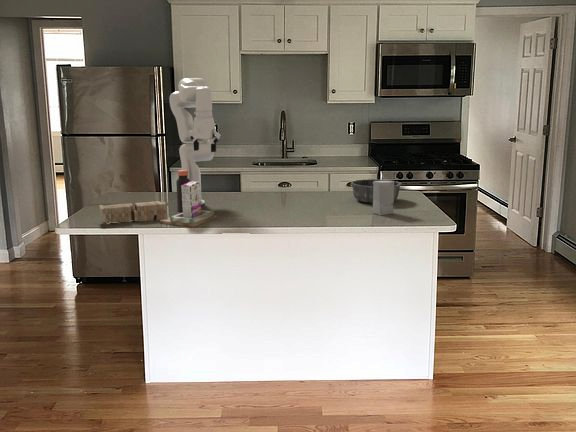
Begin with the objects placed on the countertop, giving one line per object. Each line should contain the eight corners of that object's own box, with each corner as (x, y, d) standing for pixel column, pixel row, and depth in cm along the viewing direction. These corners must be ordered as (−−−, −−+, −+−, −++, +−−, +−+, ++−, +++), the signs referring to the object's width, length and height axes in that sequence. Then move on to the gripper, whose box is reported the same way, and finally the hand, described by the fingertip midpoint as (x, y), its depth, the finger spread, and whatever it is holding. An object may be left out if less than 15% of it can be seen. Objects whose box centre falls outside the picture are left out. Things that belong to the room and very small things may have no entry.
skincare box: (380, 215, 298) (381, 182, 294) (371, 212, 304) (372, 180, 300) (394, 213, 301) (395, 181, 298) (385, 211, 308) (386, 179, 304)
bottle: (185, 212, 307) (183, 172, 302) (174, 210, 310) (172, 170, 306) (194, 209, 312) (192, 170, 308) (183, 208, 316) (182, 169, 312)
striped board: (159, 223, 284) (159, 216, 283) (185, 214, 302) (184, 208, 301) (193, 227, 277) (192, 219, 276) (217, 217, 294) (216, 211, 293)
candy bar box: (191, 215, 294) (190, 181, 291) (201, 216, 293) (200, 181, 289) (182, 220, 284) (180, 185, 280) (192, 221, 282) (191, 185, 279)
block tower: (162, 218, 300) (99, 221, 288) (162, 200, 298) (99, 203, 286) (166, 221, 293) (102, 225, 281) (166, 203, 291) (101, 206, 279)
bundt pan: (370, 194, 352) (371, 176, 350) (410, 200, 334) (411, 182, 331) (340, 201, 334) (340, 182, 331) (380, 208, 315) (381, 188, 313)
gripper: (184, 114, 290) (185, 150, 295) (215, 116, 283) (215, 153, 287) (193, 113, 297) (194, 148, 301) (224, 114, 289) (224, 151, 293)
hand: (204, 151), depth 294 cm, fingers open, 9 cm apart
